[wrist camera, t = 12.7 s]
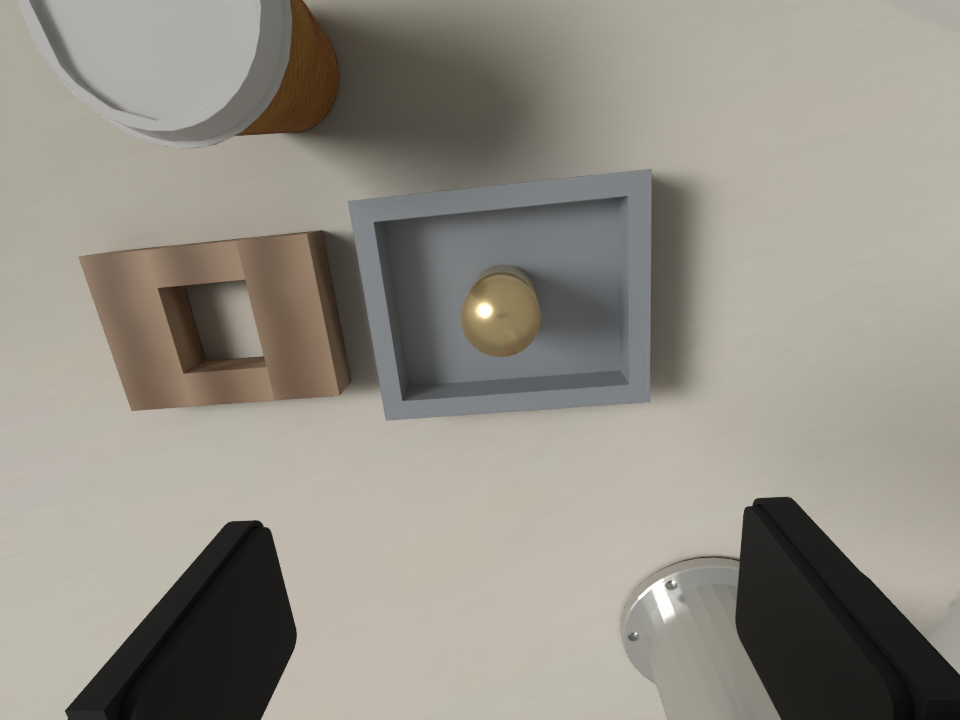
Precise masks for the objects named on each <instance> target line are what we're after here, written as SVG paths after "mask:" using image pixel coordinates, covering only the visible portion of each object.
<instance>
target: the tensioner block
mask: <svg viewBox="0 0 960 720" xmlns="http://www.w3.org/2000/svg"><path fill="white" fill-rule="evenodd" d="M79 260H80V263H81V266H82V269H83V271H84V274H85V277H86V280H87V283H88V286H89V289H90V292H91V295H92V297H93V300H94V303H95V306H96V309H97V312H98V315H99V318H100V321H101V324H102V326H103V329H104V332H105V335H106V338H107V341H108V344H109V347H110V350H111V353H112V355H113V358H114V361H115V364H116V367H117V370H118V373H119V376H120V379H121V382H122V384H123V387H124V390H125V393H126V396H127V399H128V402H129V405H130V408H131V410H132V411H137V410H150V409H164V408H177V407H191V406H204V405H217V404H231V403H244V402H258V401H271V400H284V399H298V398H311V397H325V396H338V395H340V394H341V393H342V392H343V390H344V389H345V388H346V387H347V386H348V384H349V383H350V382H351V379H350V373H349V368H348V363H347V358H346V353H345V347H344V342H343V337H342V332H341V327H340V321H339V316H338V311H337V306H336V301H335V295H334V290H333V285H332V280H331V275H330V269H329V264H328V259H327V254H326V249H325V243H324V238H323V233H322V230H321V231H311V232H301V233H291V234H281V235H272V236H262V237H252V238H242V239H232V240H222V241H213V242H203V243H193V244H183V245H173V246H163V247H154V248H144V249H134V250H124V251H114V252H106V253H100V254H93V255H87V256H80V257H79ZM236 280H245V281H246V285H247V289H248V293H249V297H250V301H251V305H252V309H253V314H254V318H255V322H256V326H257V330H258V334H259V338H260V342H261V346H262V350H263V354H264V356H263V357H250V358H238V359H226V360H214V361H206V360H205V357H204V353H203V350H202V346H201V343H200V339H199V336H198V332H197V329H196V325H195V322H194V318H193V315H192V311H191V308H190V304H189V301H188V297H187V294H186V290H185V287H184V285H194V284H204V283H215V282H226V281H236Z"/></svg>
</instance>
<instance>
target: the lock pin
mask: <svg viewBox="0 0 960 720" xmlns="http://www.w3.org/2000/svg"><path fill="white" fill-rule="evenodd" d="M540 323H541V313H540V307H539V303H538V299H537V295H536V291H535V288H534V285H533V283H532V281H531V279H530V278H529V277H528V275H527V274H526V273H525V272H523V271H522V270H520V269H519V268H517V267H514V266H511V265H496V266H492V267H490V268H488V269H486V270H485V271H483V272H482V273H481V274H480V275H479V276H478V277H477V278H476V280H475V282H474V283H473V285H472V287H471V289H470V291H469V293H468V295H467V297H466V299H465V301H464V303H463V306H462V309H461V326H462V330H463V333H464V335H465V337H466V338H467V340H468V341H469V342H470V344H471V345H472V346H473V347H475V348H476V349H477V350H479V351H480V352H482V353H484V354H487V355H489V356H494V357H507V356H512V355H515V354H517V353H520V352H521V351H523V350H524V349H526V348H527V347H528V346H529V345H530V344H531V343H532V342H533V340H534V339H535V337H536V336H537V334H538V331H539V328H540Z"/></svg>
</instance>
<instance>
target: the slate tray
mask: <svg viewBox="0 0 960 720" xmlns="http://www.w3.org/2000/svg"><path fill="white" fill-rule="evenodd" d="M651 200H652V169H647V170H638V171H628V172H619V173H609V174H600V175H590V176H581V177H571V178H562V179H553V180H543V181H534V182H524V183H515V184H505V185H496V186H486V187H477V188H468V189H458V190H449V191H439V192H430V193H420V194H411V195H401V196H392V197H383V198H373V199H364V200H354V201H348V204H349V210H350V216H351V222H352V227H353V233H354V239H355V245H356V251H357V256H358V262H359V268H360V274H361V279H362V285H363V291H364V297H365V302H366V308H367V314H368V320H369V325H370V331H371V337H372V343H373V348H374V354H375V360H376V366H377V372H378V377H379V383H380V389H381V395H382V400H383V406H384V412H385V418H386V420H400V419H415V418H429V417H443V416H458V415H472V414H486V413H501V412H515V411H529V410H543V409H558V408H572V407H586V406H601V405H615V404H629V403H644V402H650V343H651ZM496 265H511V266H514V267H517V268H519V269H520V270H522V271H523V272H525V273H526V274H527V275H528V277H529V278H530V279H531V281H532V283H533V285H534V288H535V291H536V295H537V299H538V303H539V307H540V313H541V323H540V328H539V331H538V334H537V336H536V337H535V339H534V340H533V342H532V343H531V344H530V345H529V346H528V347H527V348H526V349H524V350H523V351H521V352H520V353H517V354H515V355H512V356H507V357H494V356H489V355H487V354H484V353H482V352H480V351H479V350H477V349H476V348H475V347H473V346H472V345H471V344H470V342H469V341H468V340H467V338H466V337H465V335H464V333H463V330H462V326H461V309H462V306H463V303H464V301H465V299H466V297H467V295H468V293H469V291H470V289H471V287H472V285H473V283H474V282H475V280H476V278H477V277H478V276H479V275H480V274H481V273H482V272H483V271H485V270H486V269H488V268H490V267H492V266H496Z"/></svg>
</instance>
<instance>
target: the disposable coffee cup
mask: <svg viewBox="0 0 960 720" xmlns="http://www.w3.org/2000/svg"><path fill="white" fill-rule="evenodd" d="M18 4H19V7H20V10H21V12H22V15H23V17H24V20H25V22H26V25H27V28H28V30H29V33H30V35H31V37H32V39H33V40H34V42H35V44H36V46H37V47H38V49H39V51H40V53H41V54H42V56H43V58H44V60H45V61H46V62H47V64H48V65H49V66H50V67H51V69H52V70H53V71H54V73H55V74H56V75H57V77H58V78H59V79H60V80H61V81H62V82H63V83H64V84H65V85H66V86H67V87H68V88H69V89H70V90H71V91H72V92H73V93H74V94H75V95H76V96H77V97H79V98H80V99H81V100H83V101H84V102H85V103H86V104H88V105H89V106H90V107H91V108H93V109H94V110H95V111H96V112H97V113H99V114H100V115H101V116H102V117H103V118H105V119H106V120H107V121H108V122H109V123H111V124H112V125H114V126H116V127H118V128H119V129H121V130H123V131H124V132H126V133H128V134H130V135H131V136H133V137H136V138H139V139H142V140H144V141H147V142H150V143H152V144H155V145H159V146H166V147H174V148H183V149H184V148H198V147H205V146H210V145H216V144H218V143H220V142H222V141H225V140H227V139H229V138H231V137H233V136H244V135H257V134H258V135H260V134H274V133H297V132H301V131H304V130H307V129H310V128H312V127H313V126H315V125H317V124H318V123H319V122H320V121H321V120H323V119H324V118H325V116H326V115H327V114H328V112H329V111H330V110H331V108H332V106H333V103H334V101H335V99H336V95H337V90H338V86H339V70H338V63H337V58H336V55H335V52H334V49H333V47H332V45H331V42H330V40H329V38H328V37H327V36H326V34H325V33H324V31H323V30H322V29H321V27H320V26H319V24H318V22H317V21H316V20H315V18H314V17H313V15H312V13H311V12H310V10H309V9H308V7H307V6H306V4H305V3H304V1H303V0H18Z"/></svg>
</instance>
